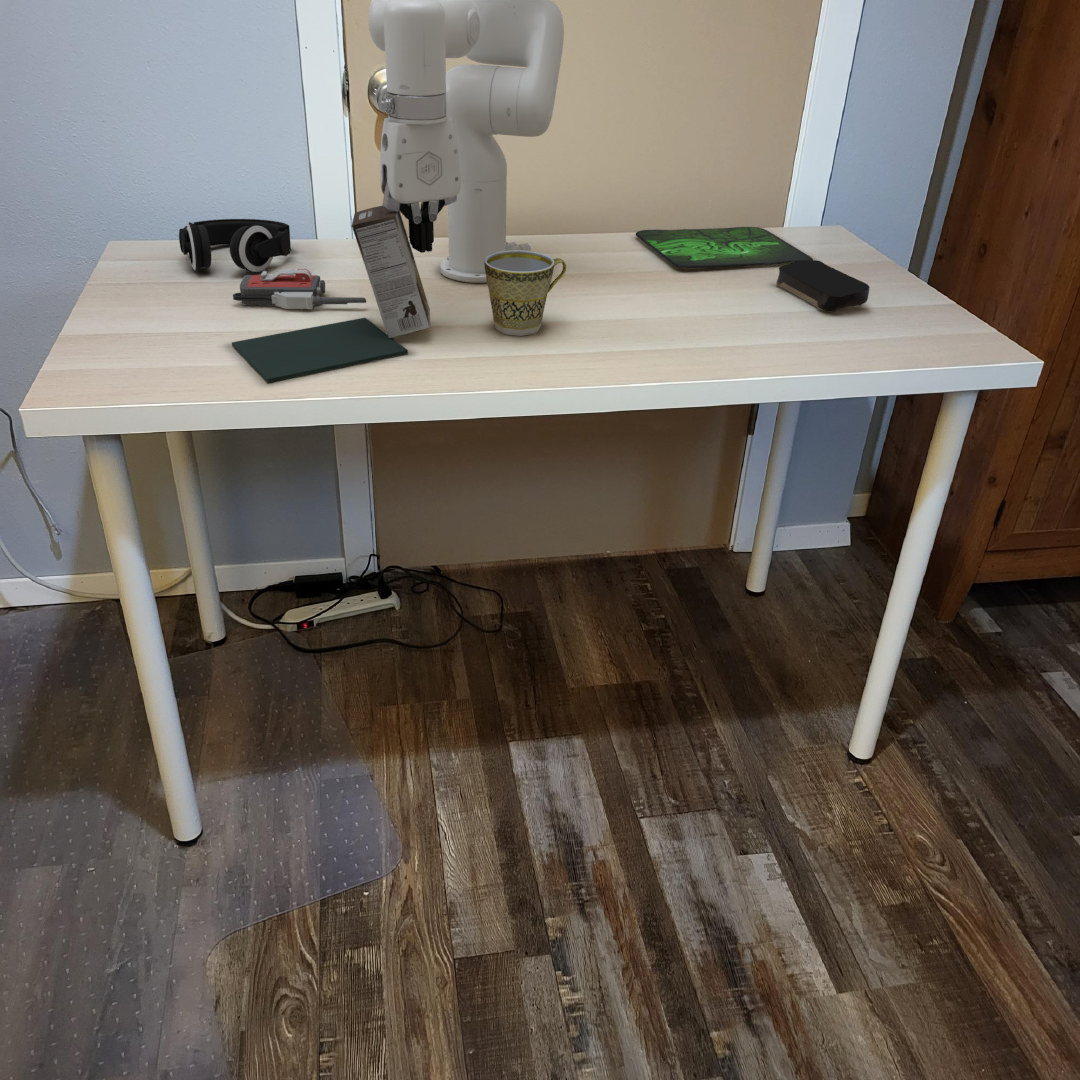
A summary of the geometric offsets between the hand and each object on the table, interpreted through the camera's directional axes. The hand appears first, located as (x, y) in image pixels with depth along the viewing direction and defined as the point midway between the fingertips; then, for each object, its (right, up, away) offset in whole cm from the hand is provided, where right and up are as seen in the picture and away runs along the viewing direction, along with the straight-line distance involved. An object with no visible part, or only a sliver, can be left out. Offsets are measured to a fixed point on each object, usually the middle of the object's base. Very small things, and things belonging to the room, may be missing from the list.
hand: (421, 249), depth 136 cm
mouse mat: (+50, +13, +44) cm, 68 cm away
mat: (-14, -14, -1) cm, 20 cm away
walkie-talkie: (-20, -4, +15) cm, 25 cm away
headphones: (-35, +7, +30) cm, 47 cm away
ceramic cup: (+14, -9, +9) cm, 19 cm away
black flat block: (+62, -1, +24) cm, 66 cm away
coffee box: (-2, -10, +5) cm, 11 cm away
